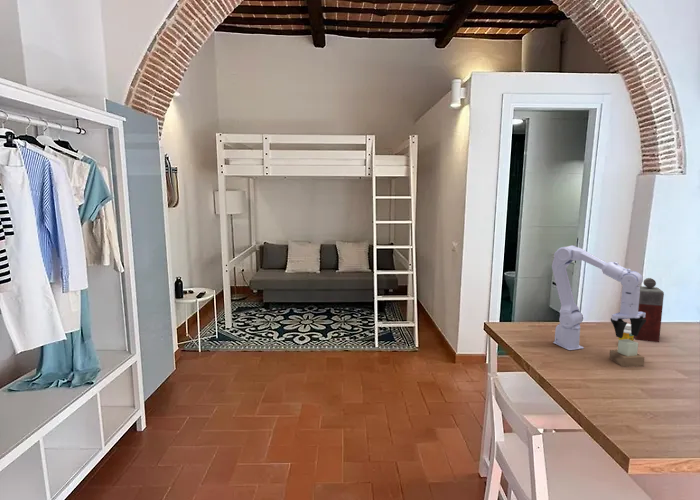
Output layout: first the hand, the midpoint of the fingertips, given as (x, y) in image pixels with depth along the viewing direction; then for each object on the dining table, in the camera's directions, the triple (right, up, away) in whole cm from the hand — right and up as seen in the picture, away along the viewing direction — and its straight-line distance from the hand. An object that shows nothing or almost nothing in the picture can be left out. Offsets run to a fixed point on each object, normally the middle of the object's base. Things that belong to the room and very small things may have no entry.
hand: (626, 336), depth 156 cm
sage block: (0, -7, 0) cm, 7 cm away
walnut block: (0, -11, 0) cm, 11 cm away
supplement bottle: (+12, -8, +18) cm, 23 cm away
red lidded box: (+28, -7, +28) cm, 40 cm away
